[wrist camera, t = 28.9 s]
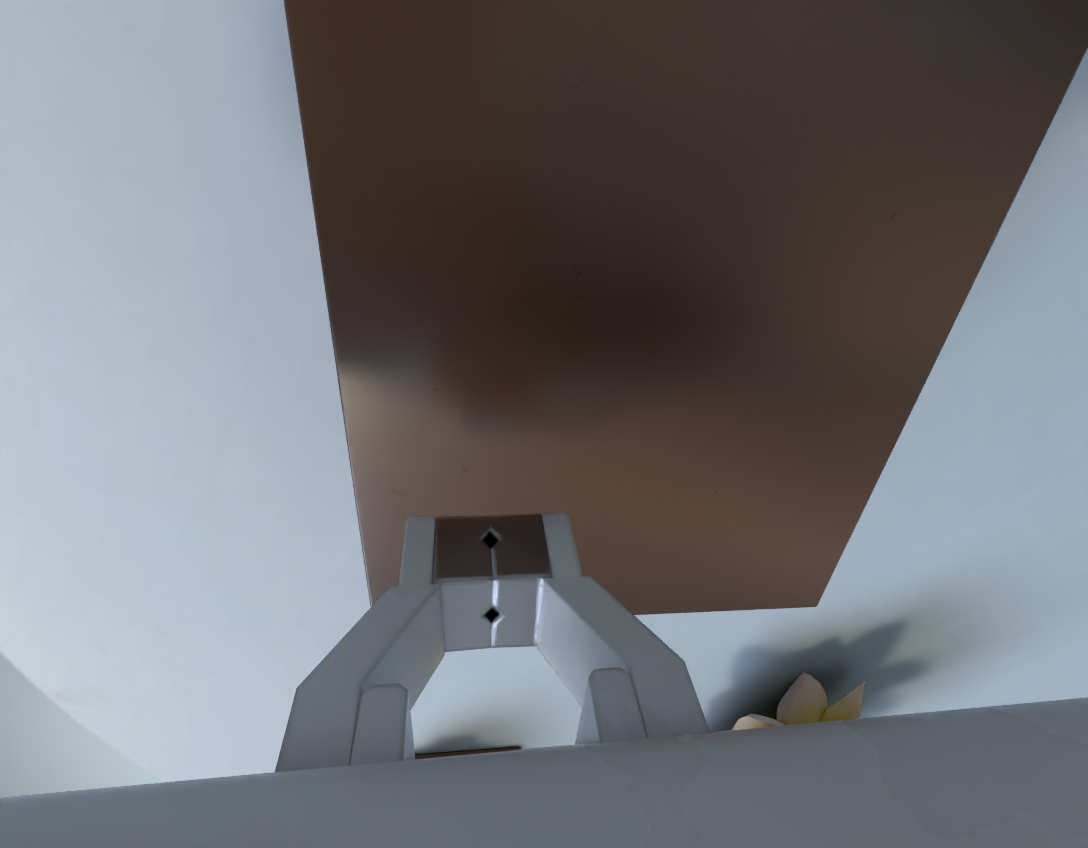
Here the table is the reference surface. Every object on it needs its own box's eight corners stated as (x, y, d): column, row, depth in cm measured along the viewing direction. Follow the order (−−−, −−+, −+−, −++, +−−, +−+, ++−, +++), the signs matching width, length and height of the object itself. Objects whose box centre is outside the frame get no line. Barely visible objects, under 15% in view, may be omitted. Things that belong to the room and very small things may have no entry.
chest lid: (804, 588, 18) (817, 607, 18) (376, 604, 17) (372, 627, 16) (1103, -68, 10) (1150, -78, 9) (272, -174, 8) (254, -196, 7)
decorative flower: (757, 650, 29) (900, 886, 22) (888, 633, 34) (1039, 820, 27) (629, 773, 37) (704, 975, 30) (751, 744, 42) (839, 910, 35)
